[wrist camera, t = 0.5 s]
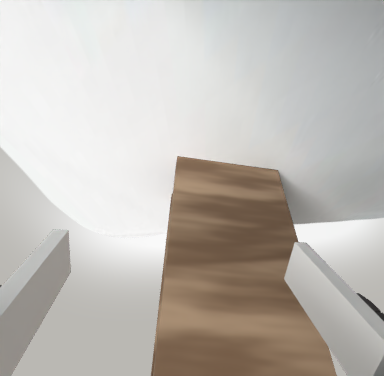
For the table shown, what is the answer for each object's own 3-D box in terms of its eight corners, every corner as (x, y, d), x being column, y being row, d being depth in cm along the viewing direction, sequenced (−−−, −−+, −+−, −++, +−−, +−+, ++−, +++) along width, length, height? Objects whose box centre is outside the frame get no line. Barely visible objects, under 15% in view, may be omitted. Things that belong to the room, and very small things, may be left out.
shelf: (147, 152, 31) (52, 553, 12) (291, 172, 33) (417, 545, 14) (146, 198, 39) (87, 490, 19) (264, 212, 41) (319, 491, 21)
